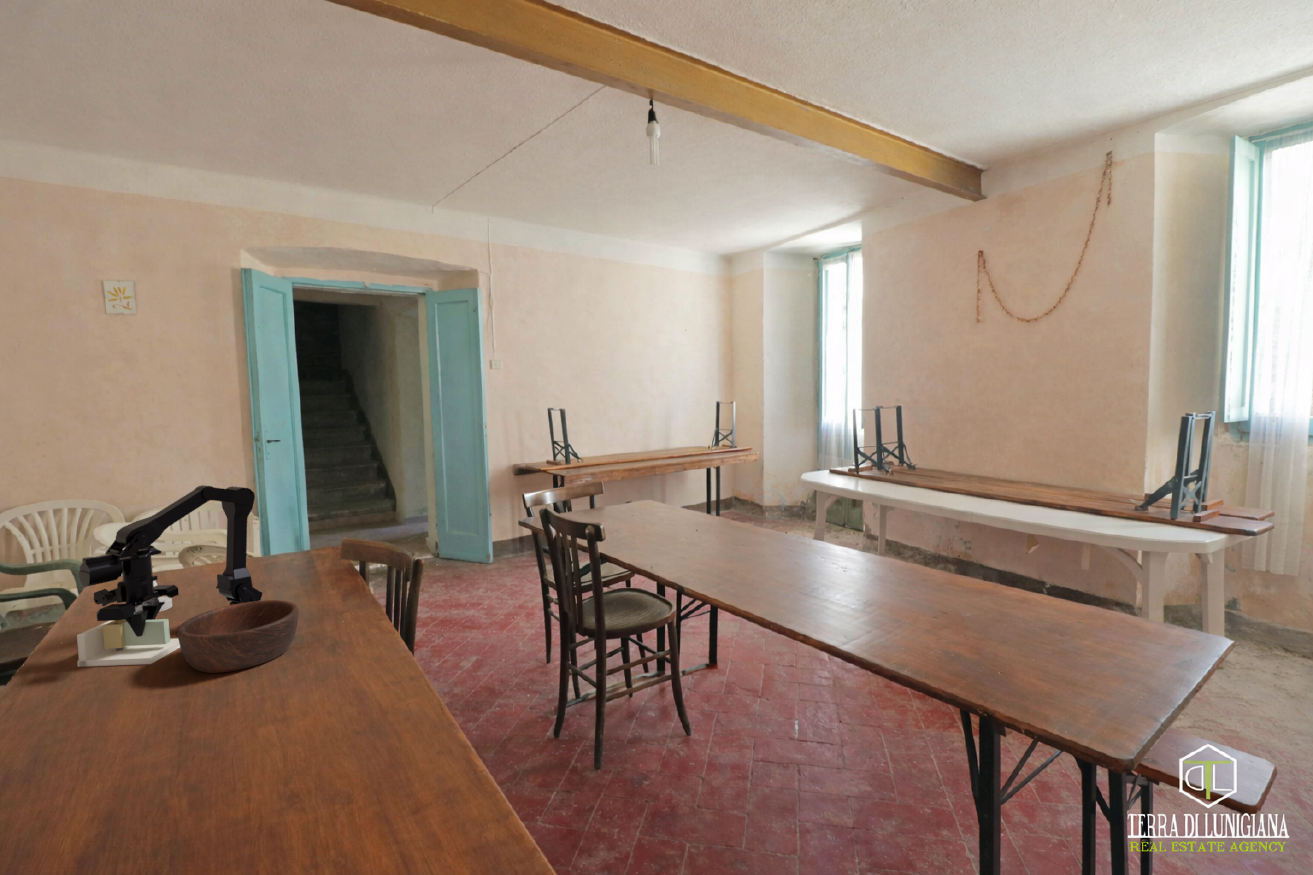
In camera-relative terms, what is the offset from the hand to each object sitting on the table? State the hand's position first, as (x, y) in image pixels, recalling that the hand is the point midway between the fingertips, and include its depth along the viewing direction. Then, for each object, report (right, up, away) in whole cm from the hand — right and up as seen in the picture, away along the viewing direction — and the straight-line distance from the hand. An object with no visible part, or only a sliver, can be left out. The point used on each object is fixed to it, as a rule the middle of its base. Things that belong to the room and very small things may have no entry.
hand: (142, 634), depth 150 cm
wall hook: (-26, -3, +34) cm, 43 cm away
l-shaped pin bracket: (-2, -5, 0) cm, 6 cm away
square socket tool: (-1, -2, 0) cm, 3 cm away
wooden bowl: (+26, -5, -1) cm, 27 cm away
